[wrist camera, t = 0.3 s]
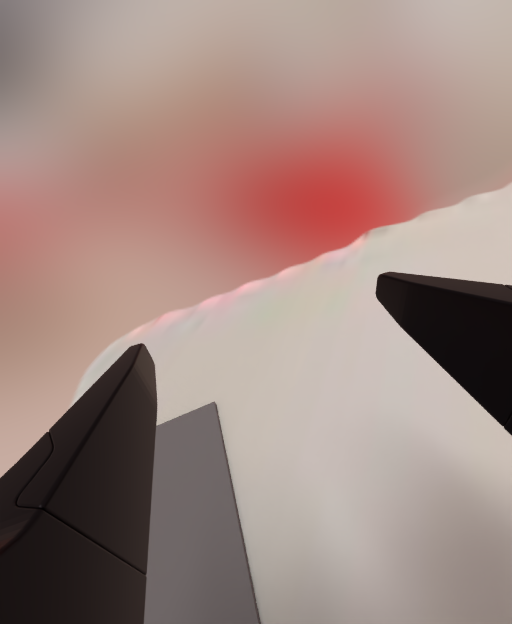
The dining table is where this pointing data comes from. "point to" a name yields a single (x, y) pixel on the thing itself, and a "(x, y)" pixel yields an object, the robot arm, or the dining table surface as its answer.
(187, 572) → the mat
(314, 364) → the dining table surface
